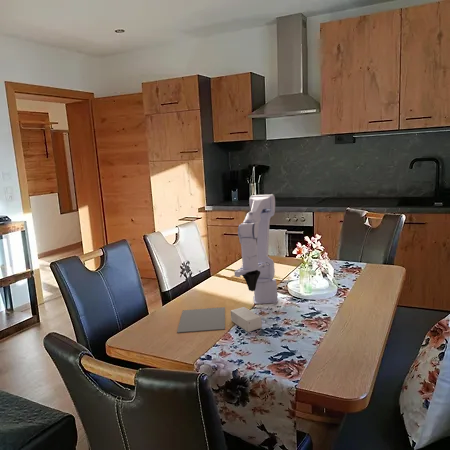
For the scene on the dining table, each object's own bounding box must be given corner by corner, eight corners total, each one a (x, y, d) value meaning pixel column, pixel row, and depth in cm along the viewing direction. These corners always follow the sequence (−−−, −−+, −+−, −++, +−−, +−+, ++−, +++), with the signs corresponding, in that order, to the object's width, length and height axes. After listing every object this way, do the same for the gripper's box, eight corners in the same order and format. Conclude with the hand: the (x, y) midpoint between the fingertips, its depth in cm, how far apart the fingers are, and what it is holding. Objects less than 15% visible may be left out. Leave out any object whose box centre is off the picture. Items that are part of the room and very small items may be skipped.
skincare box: (230, 321, 155) (247, 332, 144) (230, 310, 154) (246, 320, 143) (245, 317, 157) (262, 327, 147) (244, 306, 157) (261, 316, 146)
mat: (224, 307, 168) (224, 307, 168) (224, 329, 148) (224, 328, 148) (182, 311, 168) (182, 310, 168) (177, 332, 148) (177, 332, 148)
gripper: (255, 249, 161) (257, 283, 164) (227, 258, 152) (230, 293, 154) (269, 251, 156) (271, 286, 158) (241, 261, 146) (243, 297, 149)
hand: (252, 290), depth 156 cm, fingers closed
